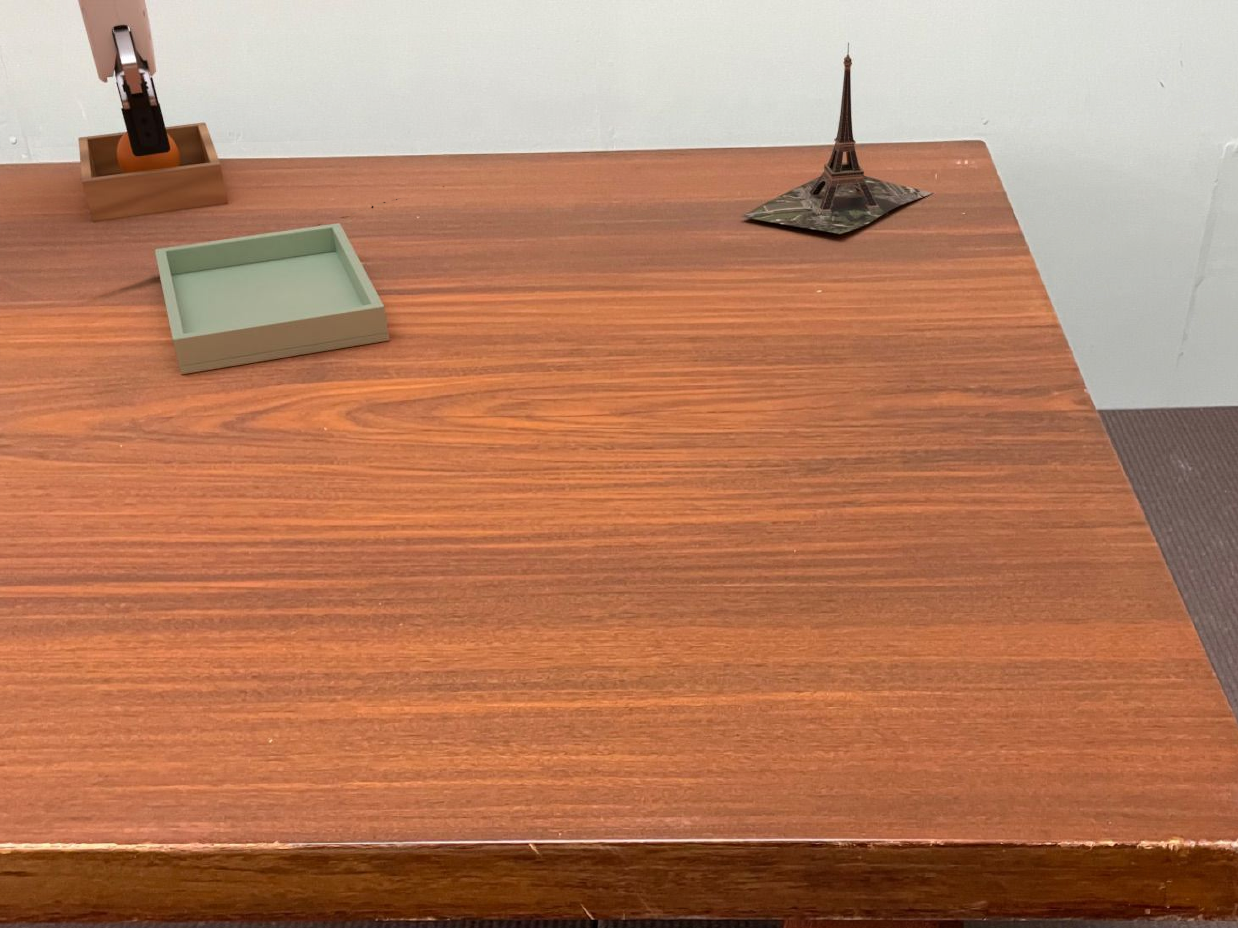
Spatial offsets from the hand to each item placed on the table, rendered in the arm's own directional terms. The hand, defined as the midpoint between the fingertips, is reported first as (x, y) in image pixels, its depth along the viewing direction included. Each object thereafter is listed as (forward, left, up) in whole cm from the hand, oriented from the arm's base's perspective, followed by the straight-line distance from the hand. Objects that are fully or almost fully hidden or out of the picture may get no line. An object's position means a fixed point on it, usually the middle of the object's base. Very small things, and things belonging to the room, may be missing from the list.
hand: (149, 138), depth 132 cm
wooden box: (0, 0, -5) cm, 5 cm away
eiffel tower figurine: (+34, -52, -5) cm, 62 cm away
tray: (-10, -32, -5) cm, 34 cm away
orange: (0, 0, -4) cm, 4 cm away
